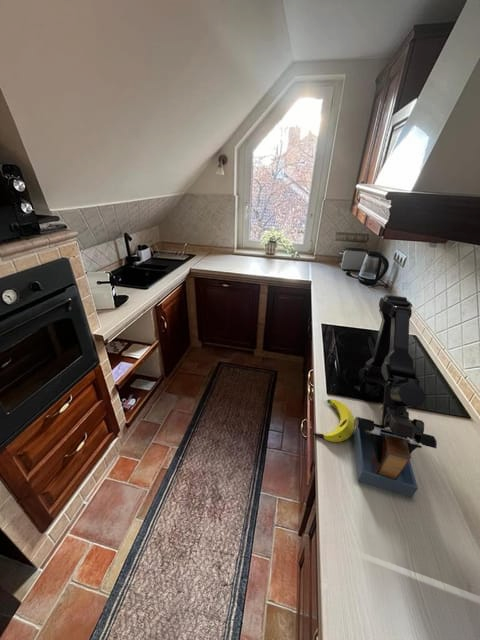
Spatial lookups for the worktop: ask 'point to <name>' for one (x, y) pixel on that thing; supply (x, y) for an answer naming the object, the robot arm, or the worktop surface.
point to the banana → (345, 424)
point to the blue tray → (364, 475)
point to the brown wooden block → (391, 457)
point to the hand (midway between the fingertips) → (389, 465)
